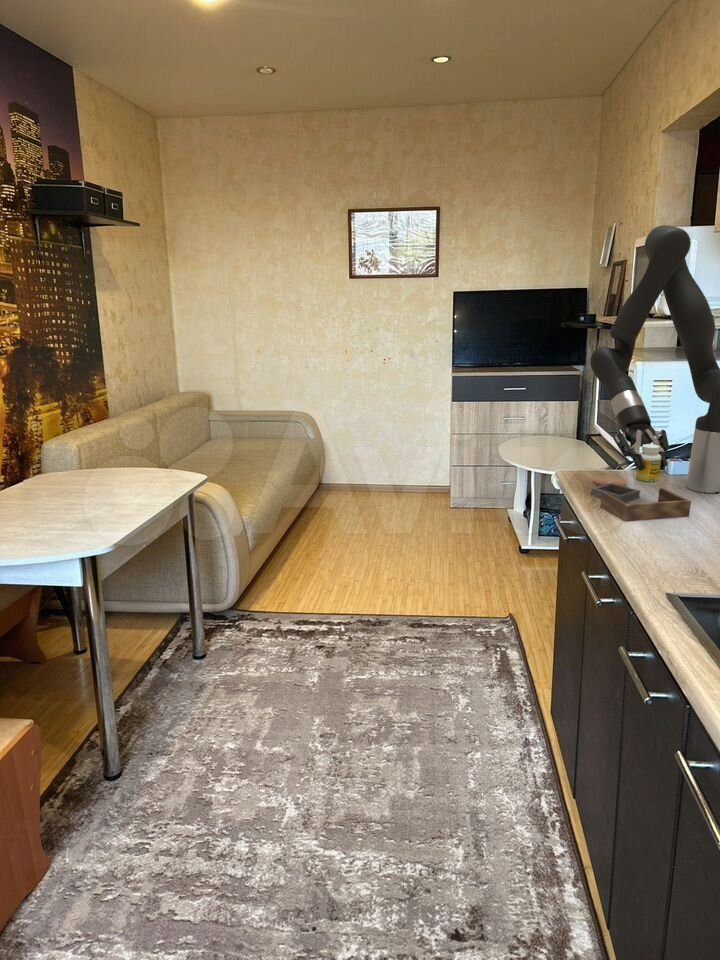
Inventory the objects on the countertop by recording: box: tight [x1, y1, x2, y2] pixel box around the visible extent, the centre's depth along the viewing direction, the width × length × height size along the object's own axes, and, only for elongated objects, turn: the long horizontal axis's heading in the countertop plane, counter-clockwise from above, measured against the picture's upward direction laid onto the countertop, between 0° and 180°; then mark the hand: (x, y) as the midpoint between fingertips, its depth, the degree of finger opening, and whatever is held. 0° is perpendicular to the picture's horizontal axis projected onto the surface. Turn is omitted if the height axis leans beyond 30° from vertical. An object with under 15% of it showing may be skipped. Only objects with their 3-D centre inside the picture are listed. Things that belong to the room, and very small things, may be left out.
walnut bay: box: [599, 487, 692, 522], centre depth 173 cm, size 18×11×4 cm, turn 103°
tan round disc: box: [593, 475, 628, 487], centre depth 197 cm, size 9×9×1 cm
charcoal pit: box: [590, 483, 641, 503], centre depth 185 cm, size 9×9×2 cm
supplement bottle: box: [635, 443, 661, 486], centre depth 170 cm, size 5×5×10 cm
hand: (653, 468), depth 169 cm, fingers closed on supplement bottle, 5 cm apart
